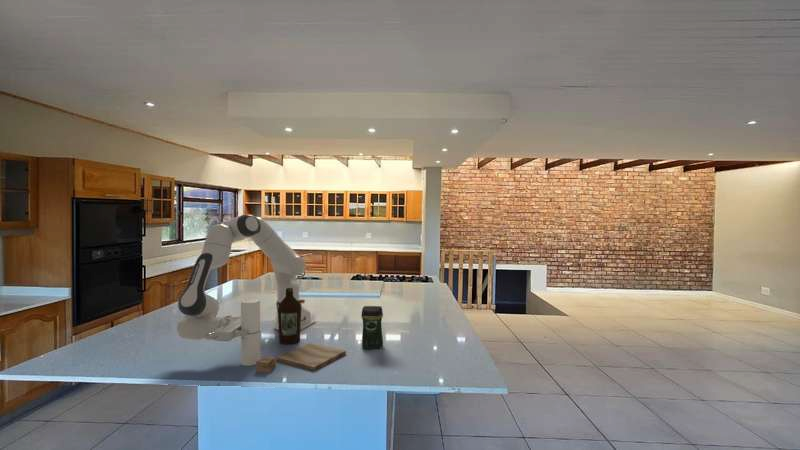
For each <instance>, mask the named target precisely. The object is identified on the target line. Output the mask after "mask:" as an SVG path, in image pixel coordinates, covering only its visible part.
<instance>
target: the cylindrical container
mask: <svg viewBox="0 0 800 450" xmlns="http://www.w3.org/2000/svg"><path fill="white" fill-rule="evenodd" d="M240 317H241V331H243V330H248V331H249V332H248V333H249V334H248V335H246V336H240V343H241V345H240V346H241V349H240V350H241V351H240V352H241V355H240V356H241V361H240V362H241V365H242V366H247V367H249V366H250V367H251V366H254V365H255V366H256V361H258V360H260V359H261V300H260V299H259V298H248V299H247V298H246V299H243V300H241V301H240Z"/></svg>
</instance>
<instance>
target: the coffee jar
mask: <svg viewBox="0 0 800 450" xmlns="http://www.w3.org/2000/svg"><path fill="white" fill-rule="evenodd" d="M383 315H384V313H383V307H382V306H381V305H364V306H363V307H362V309H361V316H360V317H361V319H362V334H361V347H362V348H363V349H365V350H380V349H381V348H383V346H384V340H383V339H384V337H383V331H382V330H383V327H382V319H383V317H384V316H383Z"/></svg>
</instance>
